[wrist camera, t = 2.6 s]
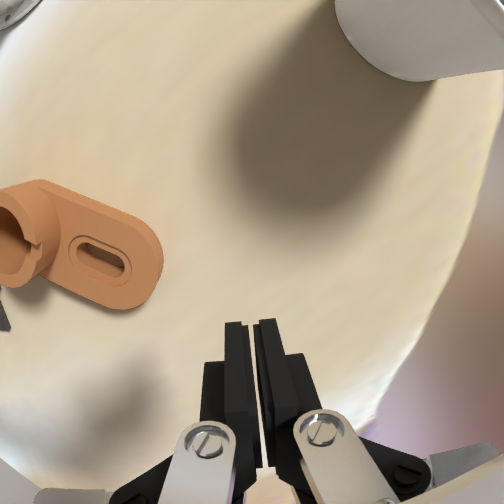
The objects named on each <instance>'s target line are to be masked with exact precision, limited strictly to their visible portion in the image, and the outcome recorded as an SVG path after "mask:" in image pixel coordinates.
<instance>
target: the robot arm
mask: <svg viewBox="0 0 504 504" xmlns="http://www.w3.org/2000/svg"><path fill="white" fill-rule="evenodd" d="M39 1H40V0H0V30H1V29H4V28H7V27H8V26H10V25H12V24H14V23H15V22H17V21H18V20H19V19H21V18H22V17H23V16H24V15H26V14H27V13H28V12H29V11H30V10H31V9H32V8H33V7H34V6H35V5H36V4H37V3H38V2H39ZM253 330H254V343H255V356H256V368H257V381H258V391H259V399H260V407H261V414H262V422H263V430H264V437H265V445H266V452H267V460H268V467H275V468H276V475H278V476H279V479H281V480H282V481H284V482H286V483H288V484H290V486H291V490H292V493H293V495H294V498H295V500H296V503H297V504H504V454H502V455H501V453H500V451H499V450H498V448H497V447H496V446H494V445H493V444H491V443H487V442H483V443H478V444H475V445H471V446H467V447H463V448H459V449H455V450H451V451H447V452H442V453H438V454H433V455H429V457H428V458H426V459H420V458H418V457H416V456H413V455H410V454H407V453H404V452H400V451H397V450H394V449H391V448H388V447H385V446H383V445H380V444H377V443H375V442H372V441H369V440H367V439H364V438H361V437H359V436H357V434H356V432H355V431H354V429H353V428H352V426H351V425H350V423H349V421H348V420H347V419H346V418H345V417H344V416H343V415H341V414H340V413H338V412H336V411H332V410H326V409H322V406H321V403H320V400H319V398H318V395H317V392H316V389H315V386H314V383H313V380H312V377H311V374H310V371H309V368H308V366H307V363H306V360H305V357H304V355H303V353H298V354H291V355H285V352H284V349H283V345H282V341H281V337H280V334H279V330H278V326H277V322H276V319H275V318H272V319H262V320H259V324H255V325H253ZM256 468H263V464H262V453H261V442H260V432H259V420H258V410H257V401H256V392H255V384H254V375H253V366H252V357H251V348H250V339H249V330H248V325H244V326H242V324H241V322H229V323H225V361H216V362H205V364H204V373H203V385H202V396H201V409H200V422H198V423H194V424H192V425H190V426H189V427H187V428H186V429H185V430H184V431H183V432H182V433H181V435H180V437H179V439H178V442H177V445H176V448H175V451H174V454H173V455H171V456H170V457H169V458H167V459H166V460H164V461H162V462H161V463H159V464H158V465H156V466H155V467H153V468H152V469H150V470H149V471H147V472H145V473H144V474H142V475H141V476H139V477H137V478H136V479H134V480H132V481H131V482H129V483H127V484H126V485H124V486H122V487H120V488H119V489H118V490H116V491H115V492H107V491H106V490H82V489H60V488H45V489H43V490H41V491H39V492H38V493H37V495H36V496H35V498H34V502H33V504H245V503H246V495H247V493H246V490H247V489H248V488H249V487H250V486H252V485H253V484H254V483H255V482H256V481H257V479H256V477H257V475H256Z"/></svg>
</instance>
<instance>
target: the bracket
mask: <svg viewBox="0 0 504 504" xmlns="http://www.w3.org/2000/svg"><path fill="white" fill-rule="evenodd" d="M30 242H31V243H30ZM86 243H89V244H92V245H94V246H96V247H98V248H101V249H103V250H105V251H108V252H110V253H112V254H115V255H117V256H119V257H120V258H121V259H122V260H123V262H124V265H125V268H121V267H118V266H115V265H113V264H111V263H108V262H106V261H104V260H101V259H99V258H97V257H95V256H93V255H91V254H90V253H89V252H88V250H87V246H86ZM163 263H164V258H163V251H162V247H161V244H160V242H159V239H158V238H157V236H156V234H155V233H154V232H153V230H152V229H151V228H150V227H149V226H148V225H147V224H146V223H144V222H143V221H142V220H140V219H138V218H136V217H134V216H132V215H129V214H127V213H125V212H122V211H120V210H117V209H115V208H112V207H110V206H107V205H105V204H102V203H100V202H98V201H95V200H93V199H90V198H88V197H85V196H83V195H81V194H78V193H76V192H73V191H71V190H68V189H66V188H64V187H61V186H59V185H56V184H54V183H52V182H49V181H46V180H33V181H29V182H26V183H22V184H18V185H15V186H11V187H8V188H4V189H1V190H0V284H2V285H4V286H6V287H11V288H16V287H20V286H22V285H24V284H26V283H27V282H28V281H29V280H30V279H32V278H33V277H34V276H35V275H37V274H38V275H40V276H42V277H44V278H46V279H48V280H50V281H52V282H54V283H56V284H58V285H60V286H62V287H64V288H66V289H68V290H70V291H72V292H74V293H77V294H79V295H81V296H83V297H85V298H87V299H90V300H92V301H94V302H96V303H98V304H101V305H103V306H106V307H108V308H112V309H120V310H121V309H130V308H134V307H136V306H138V305H140V304H142V303H143V302H145V301H146V300H147V299H148V298H149V296H150V295H151V294H152V292H153V290H154V288H155V286H156V284H157V282H158V280H159V278H160V276H161V273H162V269H163Z"/></svg>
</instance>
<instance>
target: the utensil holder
mask: <svg viewBox="0 0 504 504" xmlns="http://www.w3.org/2000/svg"><path fill="white" fill-rule="evenodd" d="M335 12H336V17H337V20H338V22H339V25H340V27H341V29H342V31H343V33H344V34H345V36H346V37H347V39H348V40H349V42H350V43H351V44H352V46H353V47H354V48H355V49H356V50H357V52H358V53H359V54H360V55H361V56H362V57H363V58H365V59H366V60H367V61H368V62H369V63H370V64H372V65H373V66H374V67H376V68H377V69H379V70H381V71H383V72H384V73H386V74H389V75H391V76H393V77H395V78H398V79H401V80H405V81H413V82H422V81H429V80H435V79H441V78H447V77H453V76H459V75H465V74H471V73H477V72H485V71H492V70H500V69H504V0H335Z"/></svg>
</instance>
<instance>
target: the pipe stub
mask: <svg viewBox="0 0 504 504" xmlns="http://www.w3.org/2000/svg"><path fill="white" fill-rule="evenodd" d="M0 289H1V286H0ZM10 328H11V326H10V324H9V321H8V319H7V316H6V314H5V311H4V309H3V306H2V303H1V301H0V330H5V331H8V330H9V329H10Z"/></svg>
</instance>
